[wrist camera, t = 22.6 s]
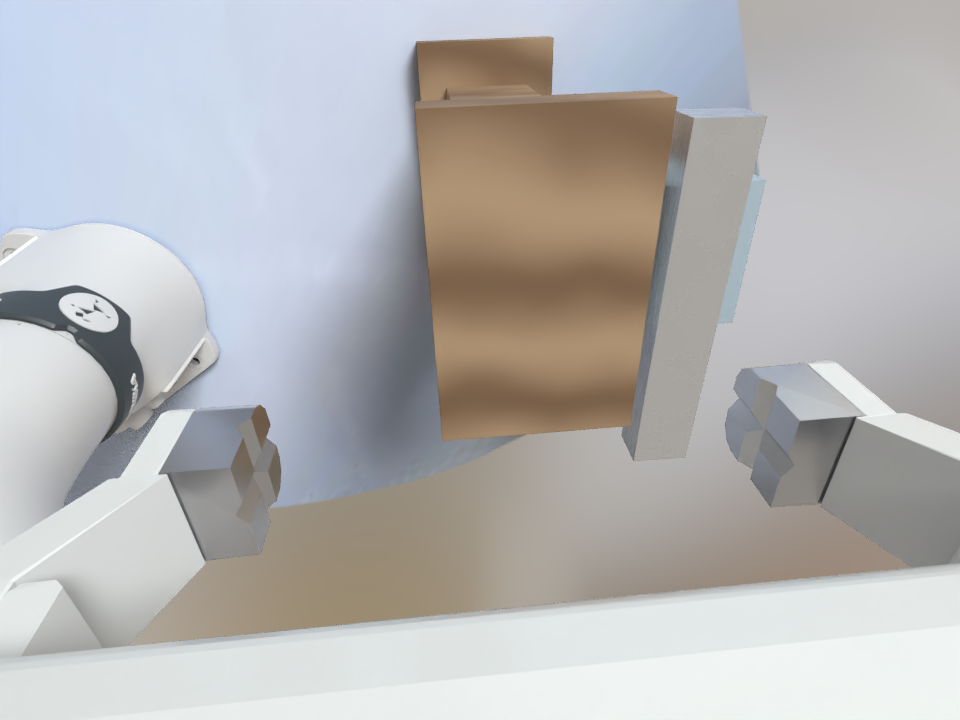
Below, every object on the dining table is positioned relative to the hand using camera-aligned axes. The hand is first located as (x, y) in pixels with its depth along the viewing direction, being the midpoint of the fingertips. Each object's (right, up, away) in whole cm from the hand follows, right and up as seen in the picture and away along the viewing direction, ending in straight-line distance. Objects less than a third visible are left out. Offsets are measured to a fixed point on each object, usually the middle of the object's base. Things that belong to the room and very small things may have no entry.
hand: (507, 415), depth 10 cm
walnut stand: (0, +18, +38) cm, 42 cm away
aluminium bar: (+13, +5, +29) cm, 32 cm away
